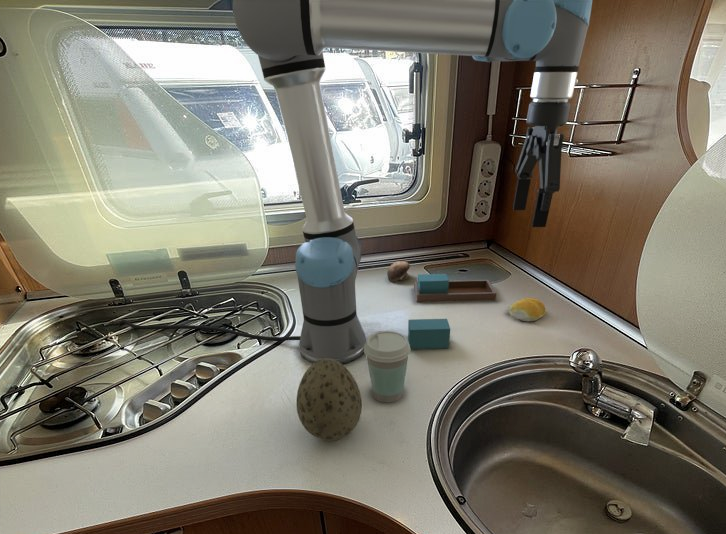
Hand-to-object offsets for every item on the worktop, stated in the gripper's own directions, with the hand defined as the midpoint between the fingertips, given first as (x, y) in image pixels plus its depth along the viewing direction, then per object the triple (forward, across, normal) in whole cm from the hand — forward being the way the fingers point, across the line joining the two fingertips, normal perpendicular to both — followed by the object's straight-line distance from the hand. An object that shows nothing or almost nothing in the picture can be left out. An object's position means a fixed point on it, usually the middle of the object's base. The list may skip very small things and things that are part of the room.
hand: (528, 217), depth 92 cm
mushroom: (+26, +28, +26) cm, 46 cm away
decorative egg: (+26, -40, +42) cm, 63 cm away
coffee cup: (+26, -29, +32) cm, 50 cm away
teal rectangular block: (+25, -10, +22) cm, 35 cm away
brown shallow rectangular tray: (+25, +16, +11) cm, 32 cm away
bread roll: (+25, +3, -6) cm, 26 cm away
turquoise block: (+25, +16, +17) cm, 34 cm away
